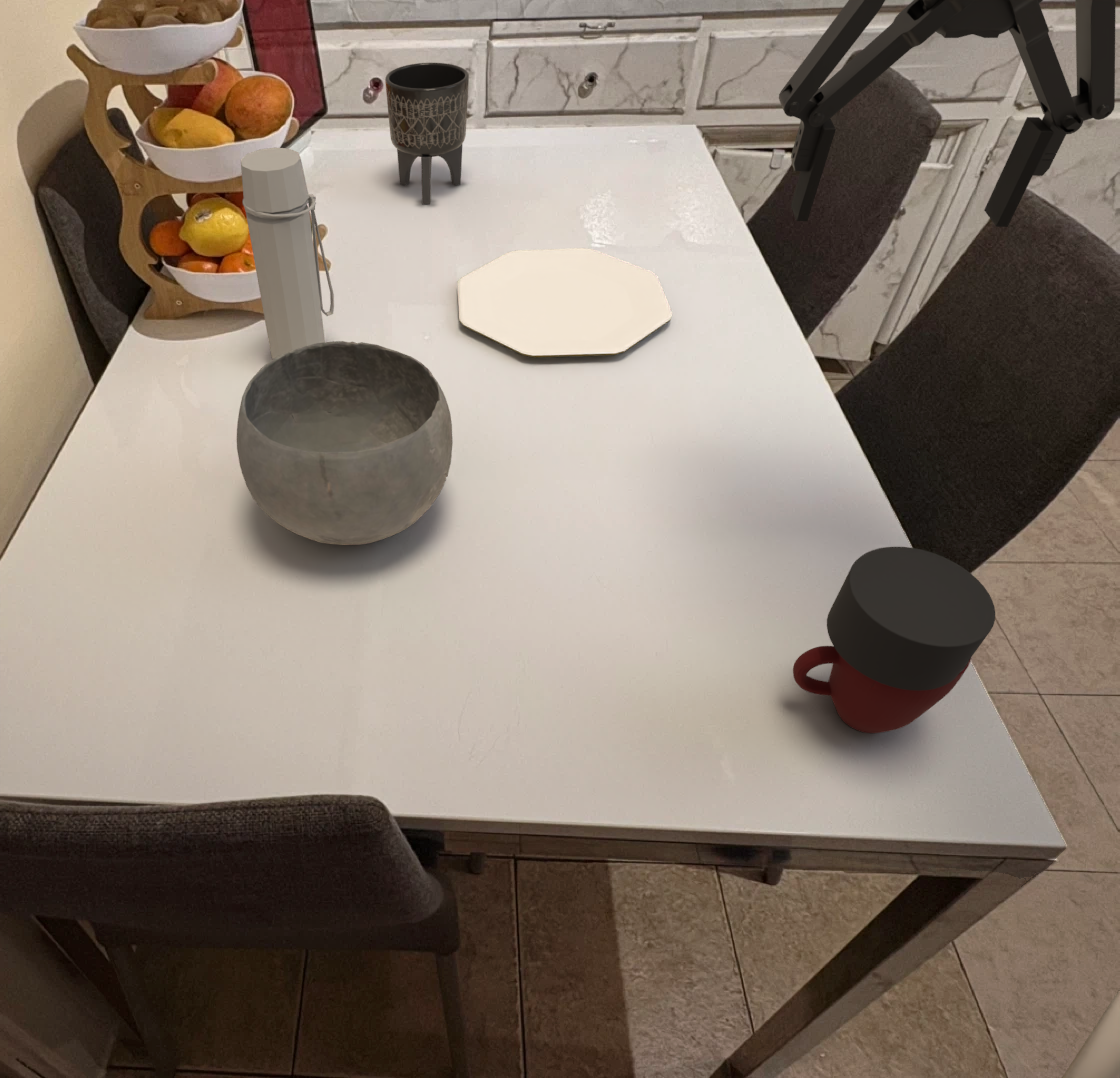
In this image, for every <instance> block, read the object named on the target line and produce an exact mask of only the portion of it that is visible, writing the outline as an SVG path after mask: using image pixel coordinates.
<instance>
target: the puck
mask: <svg viewBox="0 0 1120 1078" xmlns="http://www.w3.org/2000/svg"><path fill="white" fill-rule="evenodd" d="M995 622H996V609H995V605H994V601H993V598H992V597H991V595H990V592H988V590H987V588H986V587H985V586H984V585H983V584H982V582H981V581H980V580H978V579H977V578H976V577H975V576H974V575H973V574H972V573H971V572H970V571H968V570H967V569H966V568H964V567H962V566H961V565H959V564H958V563H956V562H954V561H952V560H951V559H950V558H949V559H948V558H947V557H945V556H942V555H940V554H938V553H937V554H936V553H935V552H932V551H928V550H924V549H921V548H916V547H908V546H885V547H878V548H875V549H872V550H870V551H868V552H865V553H864V554H862V555H861V556H859V557H858V558H857V559H856V560H855V561H854V562H853V564H852V565H851V567H850V569H849V571H848V573H847V575H846V577H845V579H844V581H843V583H842V585H841V587H840V589H839V591H838V593H837V595H836V597H835V599H834V601H833V603H832V605H831V607H830V609H829V611H828V614H827V618H826V630H827V634H828V637H829V640H830V643H831V644H832V646H834V647H835V649H836V650H837V652H838V653H839V654H840V655H841V657H842V658H843V659H844V660H845V661H846V662H847V663H848V664H850V665H851V666H852V667H853V668H855V669H856V670H857V671H859V672H860V673H862V674H863V675H865V676H867V677H869V678H871V679H873V680H875V681H877V682H880V683H882V684H885V685H888V686H891V687H895V688H899V689H905V690H916V691H921V690H931V689H936V688H939V687H942V686H944V685H946V684H948V683H950V682H951V681H953V680H954V679H955V678H956V677H957V676H958V675H959V673H960V672H961V671H962V669H963V668H964V667H965V665H966V664H967V662H968V661H969V660H970V658H971V659H972V657H973V656H974V654H975V653H976V652H977V651H978V649H979V647H980V646H981V645H982V643H983V642H984V641H985V640H986V638H987V636H988V635H989V634H990V632H991V631H992V629H993V627H994V625H995Z"/></svg>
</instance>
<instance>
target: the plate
mask: <svg viewBox="0 0 1120 1078" xmlns="http://www.w3.org/2000/svg"><path fill="white" fill-rule="evenodd" d="M456 284H457V296H458V297H457V300H458V317H459V319H458V320H459V323H460V324H461V325H462V326H463V327H464V328H466V329H468V330H471V331H472V332H474V333H476V334H478V335H480V336H481V337H482V336H483V337H485V338H486V339H489V340H491V341H493V342H495V343H497V344H499V345H500V346H503V347H505V348H507V349H509V350H511V351H513V352H514V353H515V352H516V353H517V354H519V355H522V356H525V357H530V358H557V357H558V358H560V357H562V358H563V357H595V356H596V357H597V356H616V355H619V354H623V353H625V352H626V351H628V350H629V349H631V348H632V347H634V346H635V345H637V344H639V343H640V342H641V341H643V340H645V339H646V338H647V337H649V336H650V335H652V334H653V333H655V332H656V331H657V330H659V329H660V328H662V327H663V326H665V325H666V324H667V323H669V322H670V321H671V320H672V318H673V311H672V308H671V306H670V304H669V301H668V299H667V296H666V294H665V291H664V289H663V285H662V283H661V281H660V278H659V276H658V275H657V274H656V273H654V272H653V271H652V270H648V269H647V268H644V267H641V266H639V265H637V264H633V263H631V262H628V261H625V260H623V259H620V258H618V257H615V256H612V255H609V254H607V253H605V252H602V251H599V250H597V249H594V248H587V247H577V248H575V247H574V248H571V247H570V248H543V249H541V248H540V249H539V248H538V249H516V250H512V251H511V250H510V251H507V252H506V253H504V254H502V255H500V256H498V257H497V258H495V259H493V260H491V261H488V262H487V263H486V264H483V265H482V266H479V267H478V268H476V269H474V270H472V271H471V272H469V273H467V274H464V275H463V276H461V277H460V278H459V279H458V281H457V283H456Z"/></svg>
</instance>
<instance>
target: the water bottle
mask: <svg viewBox="0 0 1120 1078" xmlns="http://www.w3.org/2000/svg"><path fill="white" fill-rule="evenodd" d="M240 171H241V182H242V193H243V198H242V206H243V208H244V211H245V216H246V221H247V228H248V232H249V238H250V243H251V250H252V255H253V261H254V266H255V267H254V268H255V272H256V279H257V284H258V289H259V294H260V300H261V306H262V307H261V308H262V312H263V317H264V322H265V328H266V334H267V340H268V346H269V351H270V356H271V361H272V360H273V359H275V358H276V357H278V356H280V355H283V354H285V353H287V352H290V351H293V350H295V349H298V348H301V347H304V346H308V345H312V344H316V343H323V342H326V337H325V330H324V321H323V315H325V316H326V317H329V316H333V314H334V311H335V294H334V290H333V285H332V281H331V276H330V272H329V268H328V264H327V260H326V255H325V250H324V246H323V242H322V238H321V233H320V230H319V229H320V228H319V225H318V221H317V217H316V213H315V210H316V204H317V202H316V200H317V197H316V196H315V195H314V194H313V193H309V190H308V185H307V180H306V176H305V172H304V167H303V162H302V158H301V155H300V153H299V152H298V151H297V150H294V149H291V148H287V147H269V148H267V147H266V148H260V149H256V150H254V151H251V152H248V153H247V154H245V155H244V156H243V157H242V158H241V159H240ZM317 241H318V242H317ZM317 244H318V245H317ZM318 246H319V249H320V253H321V258H322V262H323V267H324V272H325V276H326V281H327V284H328V290H329V296H330V297H329V298H330V300H329V301H330V305H329V306H330V307H329V310H328V311H327V312H326V311H325V310H324V306H323V295H322V287H321V286H322V285H321V283H322V282H321V275H320V266H319V265H320V264H319V256H318V255H319V253H318Z"/></svg>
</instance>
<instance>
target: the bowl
mask: <svg viewBox="0 0 1120 1078" xmlns="http://www.w3.org/2000/svg"><path fill="white" fill-rule="evenodd" d="M448 404H449V403H448V401H447V398H446V396H445V392H444V391H443V389H442V387H441V385H440V384H439V382H438V381H437V379H436V378H435V376H434V375H433V373H432V371H431V370H430V369H429V368H428V367H427V366H425V365H424V364H423V363H422V362H421V361H419V360H418V359H416V358H415V357H413V356H410V355H408V354H405V353H403V352H401V351H400V352H399V351H397V350H394V349H391V348H388V347H385V346H382V345H379V344H375V343H368V342H355V341H344V340H340V341H339V340H338V341H325V342H323V343H316V344H312V345H308V346H304V347H301V348H298V349H295V350H293V351H290V352H287V353H285V354H283V355H280V356H278V357H276V358H275V359H273V360H272V359H271V360H270V361H268V362H267V363H265V364H264V365H263V366H261V367H260V369H259V370H258V371H257V372H256V374H255V375H254V376H253V377H251V379H250V381H249V382H247V385H246V387H245V389H244V391H243V394H242V395H241V401H240V405H239V410H238V416H237V425H236V451H237V457H238V463H239V467H240V470H241V474H242V477H243V480H244V483H245V485H246V488H247V490H248V491H249V493H250V495H251V497H252V499H253V500H254V502H255V503H256V504H257V505H258V506H259V507H260V509H261V510H262V511H263V512H264V513H265V514H266V515H267V516H268V517H270V518H271V520H273V521H274V522H275V523H277V524H278V525H279V526H281V527H283V528H284V529H286V530H288V531H289V532H292V533H293V534H296V535H299V536H301V537H303V538H306V539H309V540H311V541H314V542H318V543H320V544H329V545H340V546H354V545H355V546H357V545H366V544H371V543H375V542H379V541H382V540H385V539H388V538H390V537H392V536H395V535H397V534H399V533H401V532H403V531H404V530H407V529H408V528H409V527H411V526H413V525H414V524H415V523H417V522H418V520H419V519H420V518H422V517H423V516H424V515H425V514H426V513H427V512H428V511H429V509H431V507H432V505H433V504H434V502H435V501H436V499H437V498H438V496H439V495H440V493H441V492H442V489H443V488H444V486H445V483H446V481H447V477H448V476H449V472H450V467H451V465H452V456H453V455H452V454H453V442H454V441H453V423H452V416H451V411H450V408H449V405H448Z"/></svg>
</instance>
